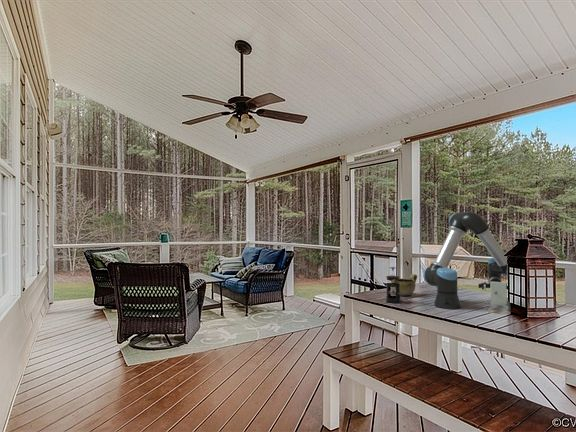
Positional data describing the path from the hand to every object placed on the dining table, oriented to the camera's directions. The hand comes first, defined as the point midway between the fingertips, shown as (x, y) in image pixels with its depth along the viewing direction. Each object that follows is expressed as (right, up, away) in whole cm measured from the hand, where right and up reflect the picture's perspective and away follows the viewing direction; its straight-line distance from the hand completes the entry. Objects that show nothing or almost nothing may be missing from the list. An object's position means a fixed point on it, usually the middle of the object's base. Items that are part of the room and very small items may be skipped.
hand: (497, 289), depth 216 cm
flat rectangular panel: (-4, -10, -8) cm, 14 cm away
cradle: (-4, -12, -8) cm, 15 cm away
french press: (-57, -13, +22) cm, 63 cm away
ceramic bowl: (-43, -14, +45) cm, 63 cm away
